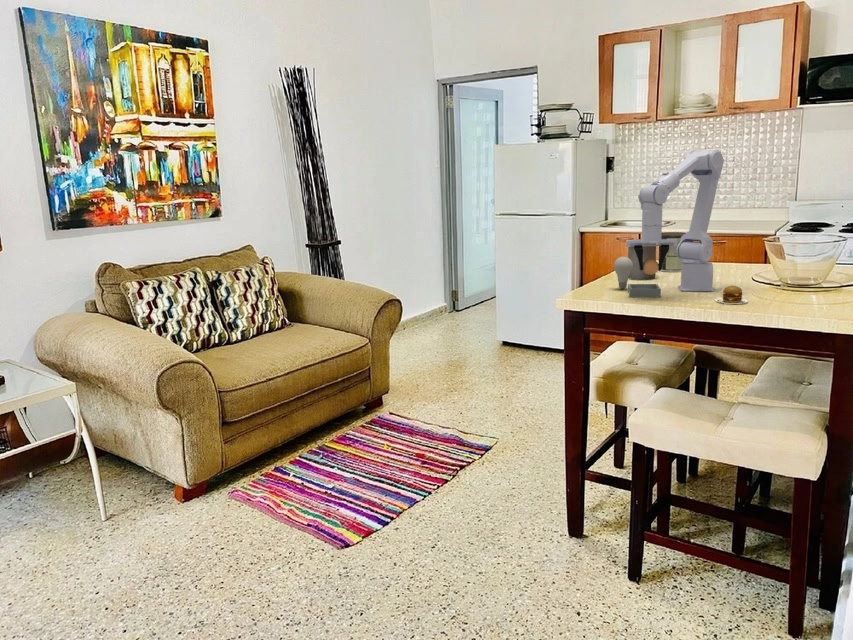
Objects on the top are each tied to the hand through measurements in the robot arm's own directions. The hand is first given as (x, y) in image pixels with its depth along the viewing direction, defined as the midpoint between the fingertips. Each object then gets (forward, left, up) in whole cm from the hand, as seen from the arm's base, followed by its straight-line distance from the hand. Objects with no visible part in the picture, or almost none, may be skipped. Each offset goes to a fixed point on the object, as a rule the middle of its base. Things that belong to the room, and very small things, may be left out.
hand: (650, 269), depth 204 cm
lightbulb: (+7, -15, -9) cm, 19 cm away
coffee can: (-14, -56, -9) cm, 58 cm away
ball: (0, 0, -2) cm, 2 cm away
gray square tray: (+1, -6, -9) cm, 11 cm away
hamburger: (-22, +6, -10) cm, 25 cm away
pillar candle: (-1, -38, -9) cm, 39 cm away
